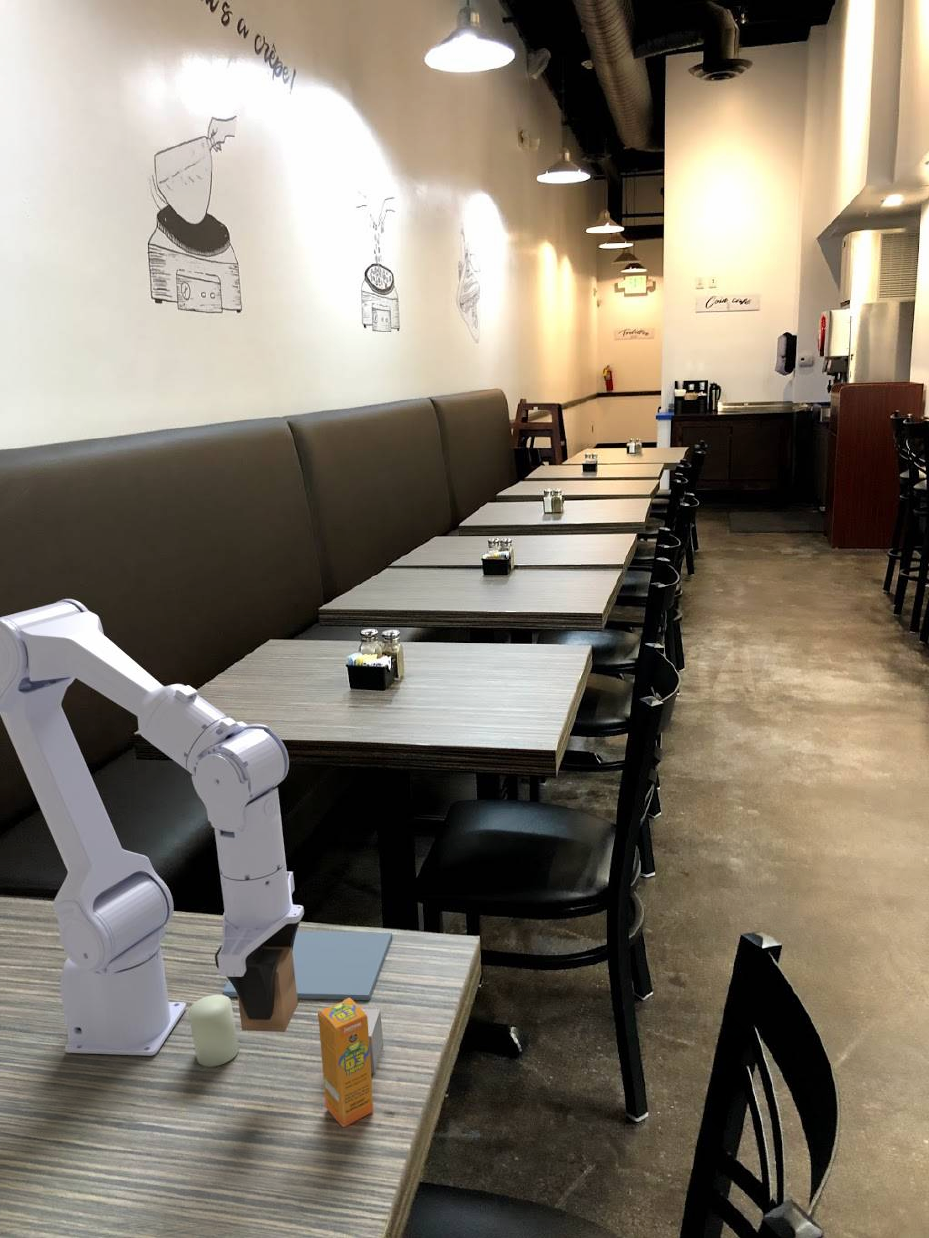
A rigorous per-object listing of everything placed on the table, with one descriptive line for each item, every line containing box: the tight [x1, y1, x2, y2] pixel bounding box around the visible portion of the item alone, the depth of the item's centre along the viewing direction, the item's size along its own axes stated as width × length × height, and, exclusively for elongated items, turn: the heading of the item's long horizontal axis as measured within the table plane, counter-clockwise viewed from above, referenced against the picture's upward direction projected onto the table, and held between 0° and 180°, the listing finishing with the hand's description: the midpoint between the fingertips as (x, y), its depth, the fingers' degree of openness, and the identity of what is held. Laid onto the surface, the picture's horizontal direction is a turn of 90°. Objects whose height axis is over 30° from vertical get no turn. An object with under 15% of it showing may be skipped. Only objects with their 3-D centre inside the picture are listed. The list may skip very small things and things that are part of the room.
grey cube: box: [361, 1008, 384, 1074], centre depth 92 cm, size 4×4×4 cm
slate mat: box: [221, 930, 393, 1001], centre depth 108 cm, size 16×12×1 cm
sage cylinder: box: [188, 994, 240, 1067], centre depth 94 cm, size 4×4×5 cm
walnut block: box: [237, 946, 299, 1033], centre depth 88 cm, size 4×4×6 cm
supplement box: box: [317, 998, 374, 1128], centre depth 84 cm, size 3×3×10 cm
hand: (268, 1001), depth 89 cm, fingers closed on walnut block, 4 cm apart
